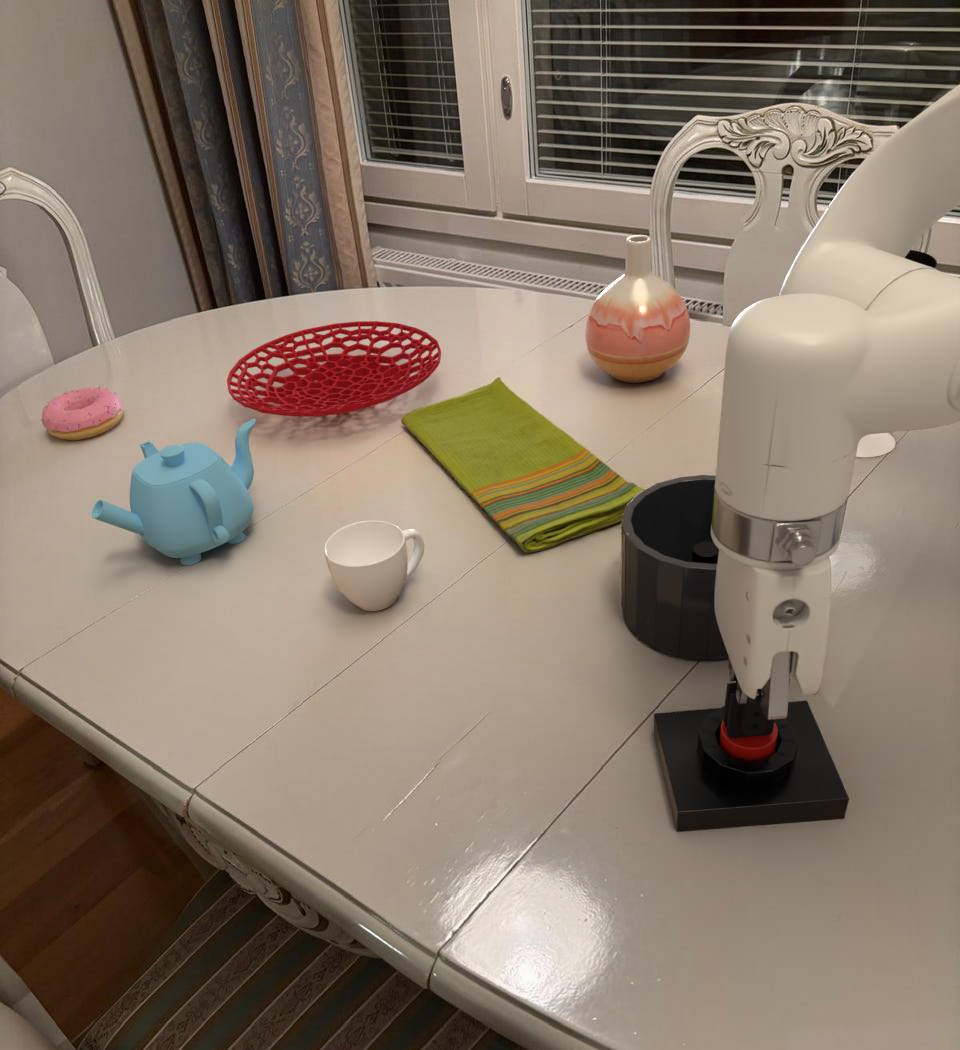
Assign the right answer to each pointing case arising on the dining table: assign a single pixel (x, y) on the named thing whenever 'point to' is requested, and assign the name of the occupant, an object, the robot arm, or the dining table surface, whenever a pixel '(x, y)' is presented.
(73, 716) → the dining table surface
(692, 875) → the dining table surface
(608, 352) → the vase
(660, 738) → the base unit
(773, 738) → the button
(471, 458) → the dish towel
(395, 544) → the cup
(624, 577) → the dark grey round bin
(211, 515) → the teapot
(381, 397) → the bowl
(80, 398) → the doughnut
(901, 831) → the dining table surface
